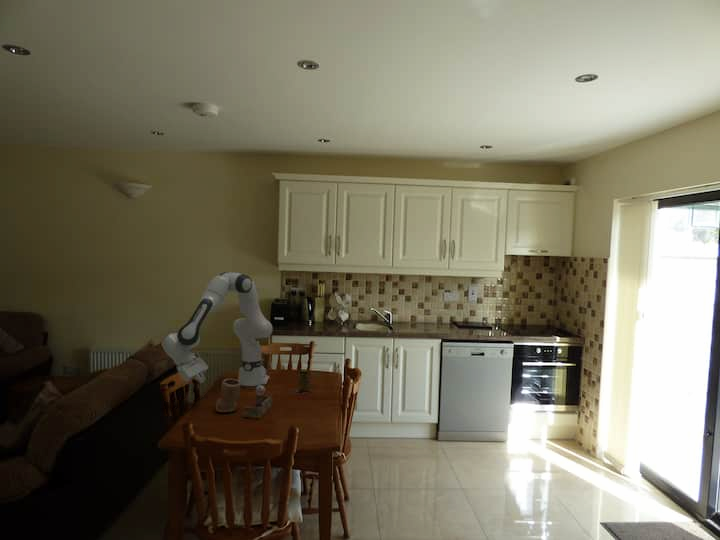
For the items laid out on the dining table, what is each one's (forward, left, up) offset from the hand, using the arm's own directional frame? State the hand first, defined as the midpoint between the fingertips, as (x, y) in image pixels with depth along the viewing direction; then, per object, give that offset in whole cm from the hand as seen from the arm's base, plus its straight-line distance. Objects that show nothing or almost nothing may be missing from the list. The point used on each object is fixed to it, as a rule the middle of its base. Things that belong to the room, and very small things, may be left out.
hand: (203, 381), depth 227 cm
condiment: (-36, +43, -13) cm, 58 cm away
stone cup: (0, +13, -13) cm, 19 cm away
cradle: (0, +29, -13) cm, 32 cm away
